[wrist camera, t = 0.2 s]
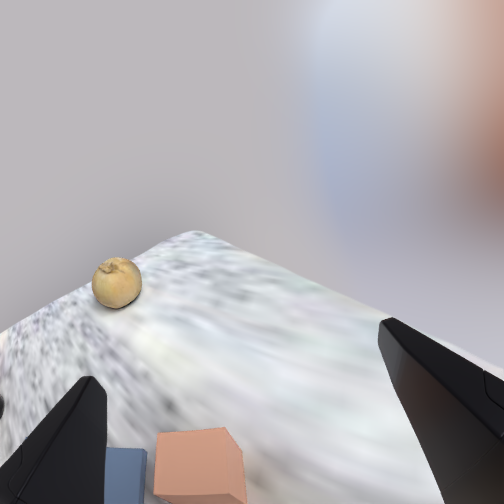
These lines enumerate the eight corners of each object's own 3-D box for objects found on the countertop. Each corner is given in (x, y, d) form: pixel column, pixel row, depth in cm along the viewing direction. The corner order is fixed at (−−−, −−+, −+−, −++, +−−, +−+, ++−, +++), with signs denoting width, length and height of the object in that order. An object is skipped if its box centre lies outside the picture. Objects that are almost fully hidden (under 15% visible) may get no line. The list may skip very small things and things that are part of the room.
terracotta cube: (247, 505, 16) (229, 493, 13) (183, 508, 16) (153, 494, 13) (242, 451, 20) (224, 427, 18) (183, 456, 20) (157, 432, 18)
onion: (93, 310, 41) (72, 273, 38) (123, 280, 47) (106, 243, 44) (126, 319, 38) (103, 278, 34) (157, 284, 44) (140, 244, 40)
